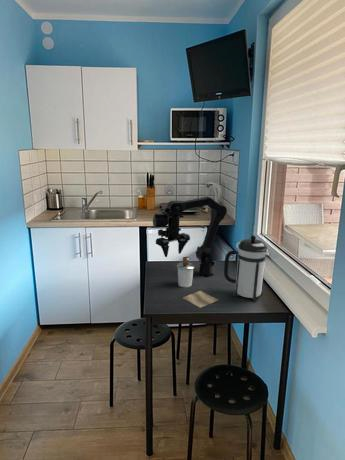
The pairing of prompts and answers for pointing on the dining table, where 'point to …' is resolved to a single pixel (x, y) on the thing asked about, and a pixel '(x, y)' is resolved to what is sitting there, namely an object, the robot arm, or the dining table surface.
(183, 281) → the white cup
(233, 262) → the dining table surface
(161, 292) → the dining table surface
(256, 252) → the coffee press
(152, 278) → the dining table surface
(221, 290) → the dining table surface
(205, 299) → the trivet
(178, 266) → the lid
